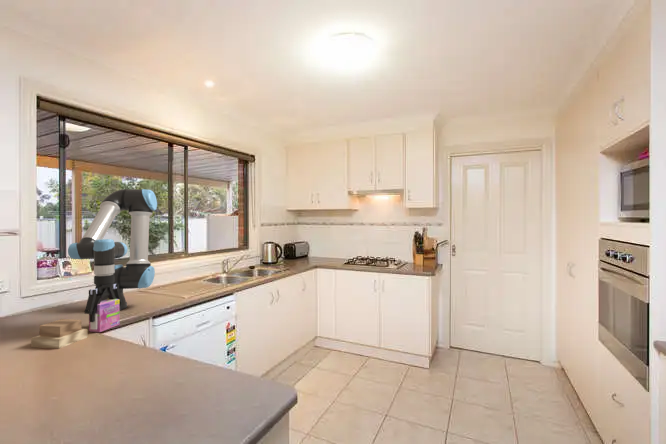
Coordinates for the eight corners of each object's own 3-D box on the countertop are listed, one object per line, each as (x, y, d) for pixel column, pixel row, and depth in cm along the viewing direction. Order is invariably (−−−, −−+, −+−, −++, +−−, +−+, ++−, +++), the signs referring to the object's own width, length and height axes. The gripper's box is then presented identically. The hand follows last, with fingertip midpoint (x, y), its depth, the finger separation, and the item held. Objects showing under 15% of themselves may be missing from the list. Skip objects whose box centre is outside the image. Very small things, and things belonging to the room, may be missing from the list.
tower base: (61, 337, 137) (61, 327, 137) (87, 338, 135) (87, 328, 135) (31, 348, 125) (31, 337, 125) (59, 350, 124) (59, 339, 124)
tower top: (62, 328, 136) (62, 318, 136) (81, 329, 134) (81, 319, 134) (39, 336, 127) (39, 325, 127) (60, 337, 126) (60, 326, 126)
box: (99, 332, 141) (99, 304, 141) (88, 331, 142) (88, 303, 142) (120, 324, 151) (120, 298, 151) (109, 324, 152) (109, 298, 152)
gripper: (117, 270, 159) (117, 317, 159) (72, 279, 136) (73, 333, 136) (131, 270, 157) (131, 317, 158) (89, 279, 135) (89, 334, 135)
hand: (104, 324), depth 147 cm, fingers closed on box, 11 cm apart
